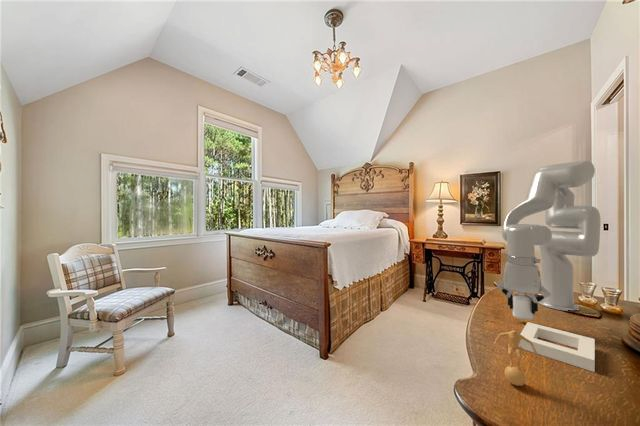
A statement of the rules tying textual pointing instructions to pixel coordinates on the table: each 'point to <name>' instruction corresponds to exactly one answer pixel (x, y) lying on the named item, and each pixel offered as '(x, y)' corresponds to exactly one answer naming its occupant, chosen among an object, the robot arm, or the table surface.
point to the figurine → (512, 372)
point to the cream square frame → (570, 356)
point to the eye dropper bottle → (522, 306)
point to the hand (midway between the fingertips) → (522, 309)
